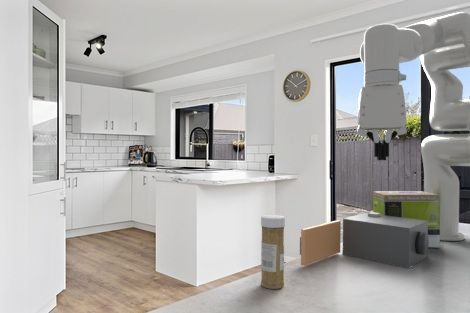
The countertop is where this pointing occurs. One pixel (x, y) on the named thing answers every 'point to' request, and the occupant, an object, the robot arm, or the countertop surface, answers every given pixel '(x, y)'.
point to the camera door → (320, 242)
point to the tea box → (411, 209)
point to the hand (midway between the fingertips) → (381, 160)
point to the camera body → (386, 238)
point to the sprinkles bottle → (272, 251)
